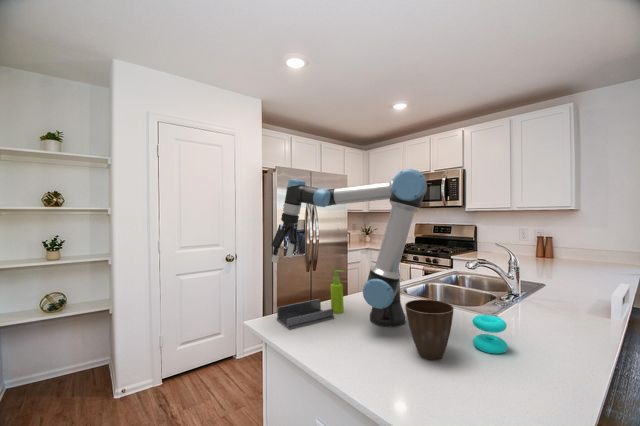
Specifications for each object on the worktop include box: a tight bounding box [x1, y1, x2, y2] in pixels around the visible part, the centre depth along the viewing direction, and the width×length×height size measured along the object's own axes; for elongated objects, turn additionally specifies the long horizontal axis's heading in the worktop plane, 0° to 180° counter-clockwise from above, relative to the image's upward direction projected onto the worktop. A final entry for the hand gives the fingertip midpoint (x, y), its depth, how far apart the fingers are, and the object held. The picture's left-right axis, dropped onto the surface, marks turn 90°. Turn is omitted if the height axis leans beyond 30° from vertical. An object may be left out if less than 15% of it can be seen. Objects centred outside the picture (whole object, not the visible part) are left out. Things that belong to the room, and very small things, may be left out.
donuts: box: [471, 314, 508, 355], centre depth 100 cm, size 10×10×10 cm
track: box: [276, 298, 335, 331], centre depth 133 cm, size 14×22×6 cm, turn 120°
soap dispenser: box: [330, 269, 345, 314], centre depth 142 cm, size 6×7×20 cm
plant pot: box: [404, 299, 455, 361], centre depth 97 cm, size 15×15×16 cm
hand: (282, 259), depth 133 cm, fingers open, 13 cm apart
